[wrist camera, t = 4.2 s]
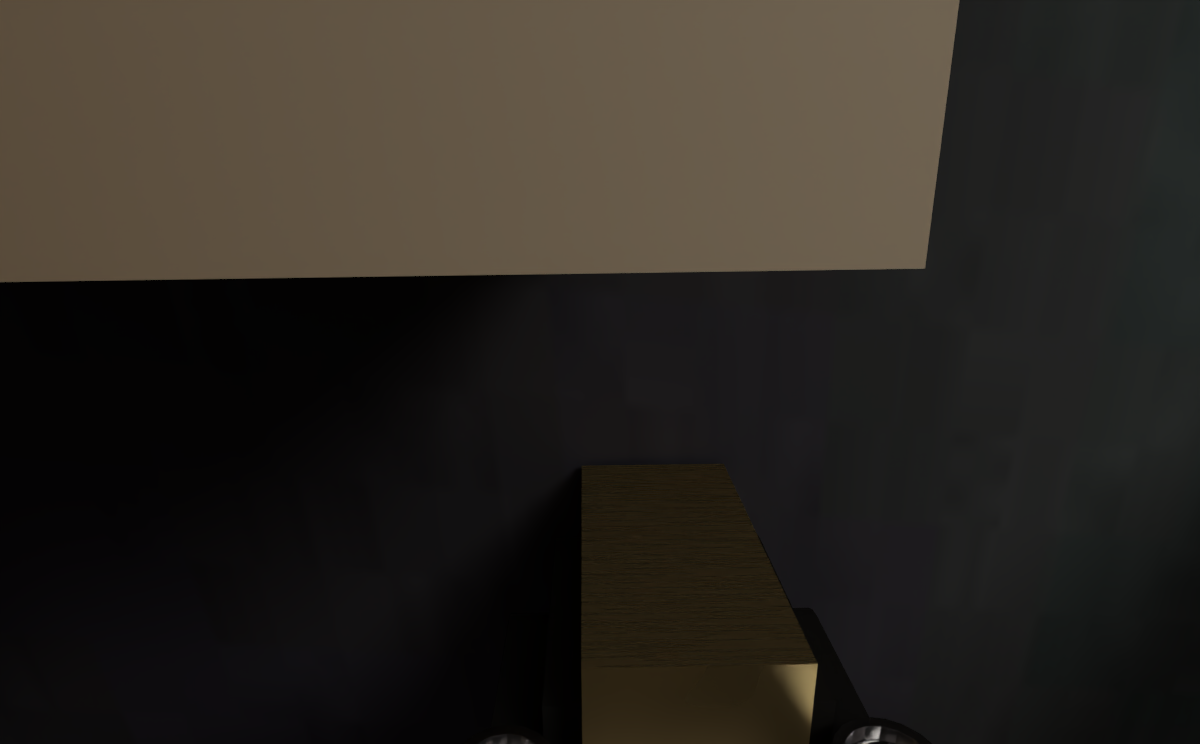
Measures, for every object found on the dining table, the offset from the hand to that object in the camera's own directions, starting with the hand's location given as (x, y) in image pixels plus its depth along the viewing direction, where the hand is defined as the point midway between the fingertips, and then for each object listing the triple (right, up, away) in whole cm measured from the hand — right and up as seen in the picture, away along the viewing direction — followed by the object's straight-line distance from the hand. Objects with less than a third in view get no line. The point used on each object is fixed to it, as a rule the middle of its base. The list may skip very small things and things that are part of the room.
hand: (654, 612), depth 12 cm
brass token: (0, 0, +1) cm, 1 cm away
